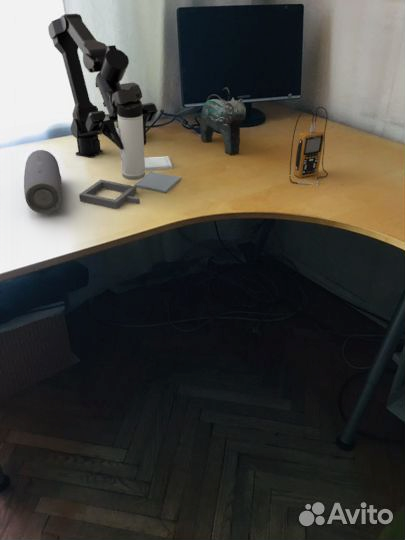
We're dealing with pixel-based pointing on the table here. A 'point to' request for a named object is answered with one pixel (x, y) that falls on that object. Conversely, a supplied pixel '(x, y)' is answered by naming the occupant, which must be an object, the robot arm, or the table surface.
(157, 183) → the mat
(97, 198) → the collar
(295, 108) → the table surface
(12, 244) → the table surface
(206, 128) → the animal figurine
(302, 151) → the multimeter
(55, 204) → the bluetooth speaker
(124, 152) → the travel mug
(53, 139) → the table surface
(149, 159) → the hard drive
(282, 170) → the table surface
